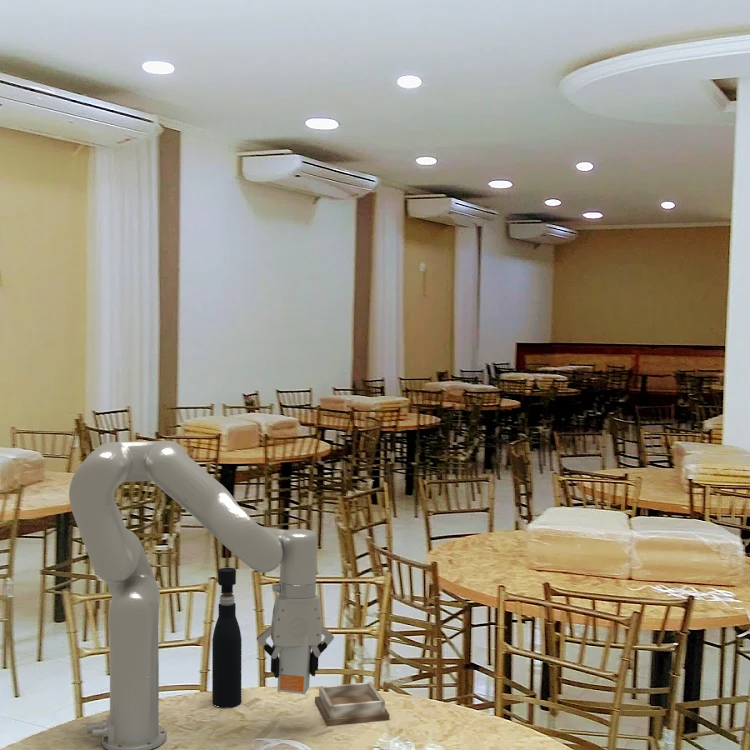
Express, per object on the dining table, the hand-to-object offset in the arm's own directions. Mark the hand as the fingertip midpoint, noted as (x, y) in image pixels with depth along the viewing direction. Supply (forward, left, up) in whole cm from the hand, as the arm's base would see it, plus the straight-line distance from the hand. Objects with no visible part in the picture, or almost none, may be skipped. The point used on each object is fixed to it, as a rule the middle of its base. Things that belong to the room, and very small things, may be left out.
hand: (294, 674), depth 194 cm
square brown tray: (+14, +7, -12) cm, 19 cm away
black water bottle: (-12, +18, -12) cm, 25 cm away
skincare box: (0, 0, -4) cm, 4 cm away
